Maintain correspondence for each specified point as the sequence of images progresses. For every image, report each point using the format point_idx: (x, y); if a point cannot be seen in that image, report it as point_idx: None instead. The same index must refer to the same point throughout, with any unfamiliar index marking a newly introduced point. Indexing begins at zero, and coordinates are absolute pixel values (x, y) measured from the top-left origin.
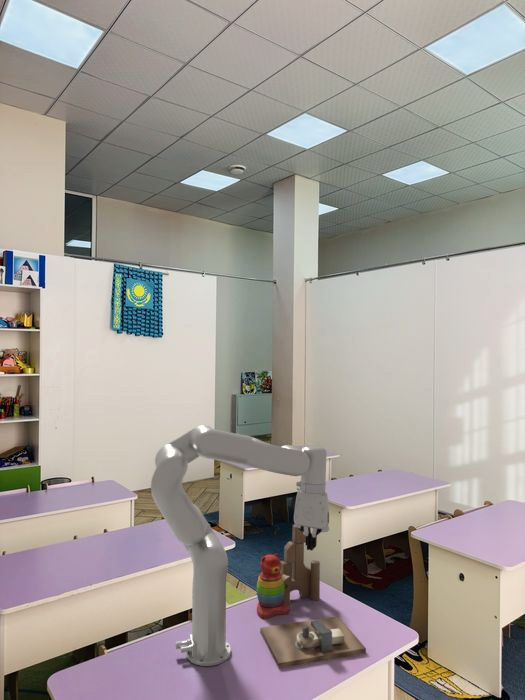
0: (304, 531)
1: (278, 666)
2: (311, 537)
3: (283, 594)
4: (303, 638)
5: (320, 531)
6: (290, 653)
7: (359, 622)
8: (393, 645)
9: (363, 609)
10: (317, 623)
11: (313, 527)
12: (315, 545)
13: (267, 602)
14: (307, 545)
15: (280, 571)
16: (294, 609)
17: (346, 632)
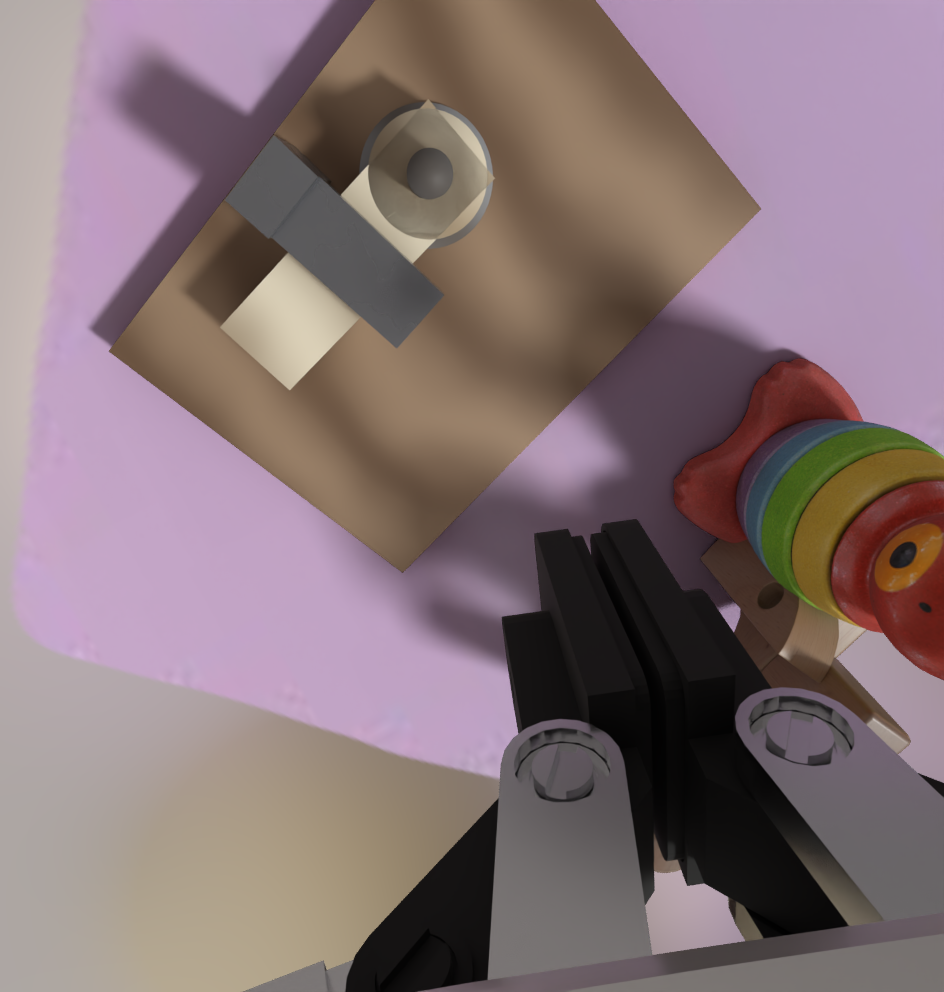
0: (902, 777)
1: None
2: (607, 694)
3: (751, 525)
4: (428, 140)
5: (368, 965)
6: (466, 26)
7: (300, 603)
8: (43, 500)
9: (340, 718)
10: (389, 289)
11: (591, 980)
12: (507, 656)
13: (817, 426)
14: (644, 554)
15: (863, 688)
16: (660, 537)
17: (284, 445)
